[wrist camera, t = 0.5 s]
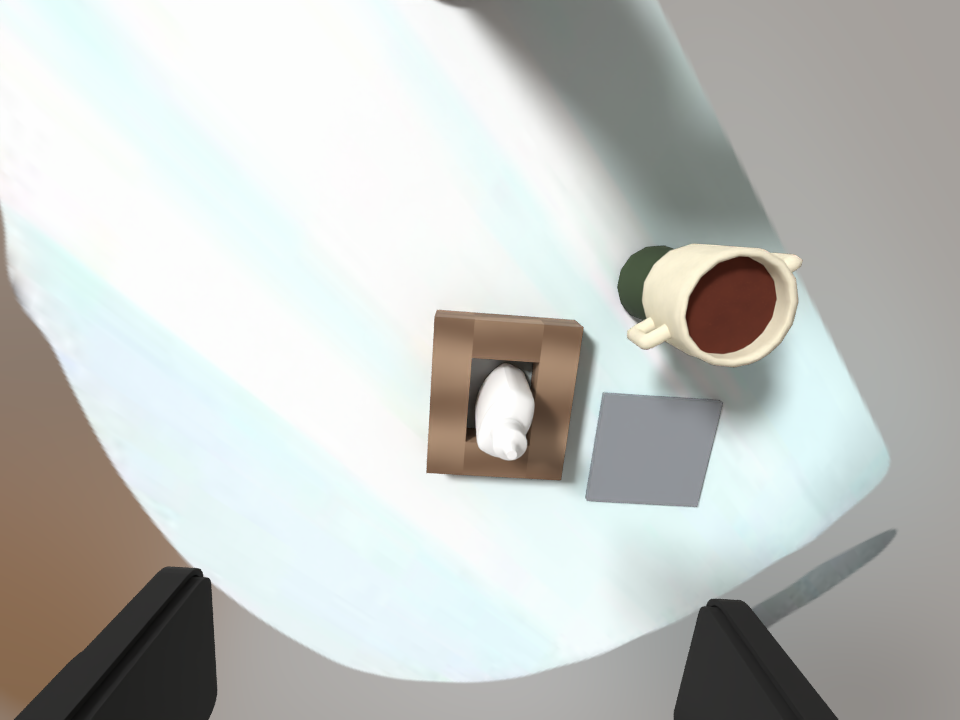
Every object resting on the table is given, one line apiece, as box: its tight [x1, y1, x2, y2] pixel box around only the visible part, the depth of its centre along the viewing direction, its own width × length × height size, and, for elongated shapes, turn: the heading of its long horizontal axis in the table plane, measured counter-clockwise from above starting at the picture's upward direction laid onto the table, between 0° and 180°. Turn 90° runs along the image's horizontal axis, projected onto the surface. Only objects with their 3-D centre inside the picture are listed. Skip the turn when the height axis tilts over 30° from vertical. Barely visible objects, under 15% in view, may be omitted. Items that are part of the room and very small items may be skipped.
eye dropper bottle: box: [475, 363, 535, 461], centre depth 35 cm, size 4×6×12 cm
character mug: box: [617, 244, 803, 367], centre depth 32 cm, size 11×7×13 cm, turn 120°
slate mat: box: [585, 393, 723, 507], centre depth 43 cm, size 11×11×1 cm
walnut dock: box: [426, 310, 584, 480], centre depth 39 cm, size 14×12×3 cm
